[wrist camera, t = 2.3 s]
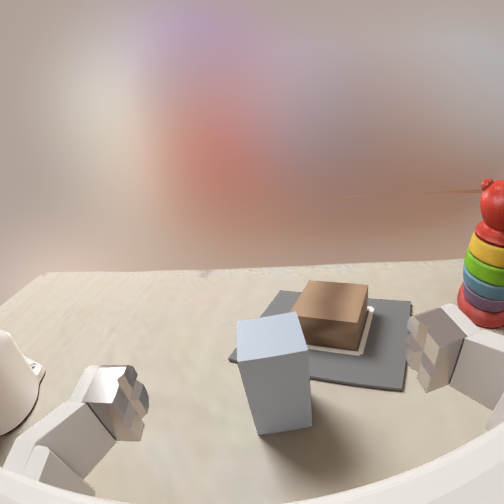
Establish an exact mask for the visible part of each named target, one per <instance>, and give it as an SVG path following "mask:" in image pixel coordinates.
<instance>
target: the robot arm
mask: <svg viewBox="0 0 504 504" xmlns="http://www.w3.org/2000/svg"><path fill="white" fill-rule="evenodd" d="M407 329H408V330H409V332H410V333H409V335H408V336H407V338H406V339H405V343H404V353H405V358H406V360H407V363H408V365H409V366H410V368H411V369H413V370H416V371H418V375H417V379H418V381H419V382H420V384H421V386H422V387H423V389H424V390H425V392H426V393H428V392H430V391H433V390H436V389H438V388H441V387H443V386H446V385H448V384H450V385H449V386H451V387H453V388H454V389H456V390H458V391H460V392H461V393H463V394H465V395H466V396H468V397H470V398H472V399H473V400H475V401H477V402H479V403H480V404H482V405H484V406H486V407H487V408H489V409H491V410H493V412H492V414H491V415H490V417H489V419H488V420H487V422H486V425H485V427H486V428H487V430H488V432H486V433H484V434H482V435H481V436H479V437H477V438H476V439H474V440H472V441H470V442H468V443H467V444H465V445H463V446H461V447H459V448H457V449H455V450H453V451H451V452H449V453H447V454H445V455H443V456H441V457H439V458H437V459H434V460H432V461H430V462H428V463H425V464H423V465H421V466H418V467H416V468H413V469H411V470H408V471H406V472H403V473H401V474H398V475H395V476H392V477H390V478H387V479H384V480H381V481H378V482H375V483H371V484H368V485H365V486H361V487H358V488H354V489H351V490H347V491H343V492H339V493H335V494H331V495H326V496H322V497H317V498H312V499H306V500H301V501H295V502H288V503H281V504H504V336H503V335H500V334H497V333H494V332H491V331H488V330H485V329H484V330H482V331H481V330H480V329H479V328H478V327H477V326H476V325H475V324H474V323H473V322H472V321H471V320H470V319H469V318H468V317H467V316H466V315H465V314H464V313H463V312H462V311H461V310H460V309H459V308H458V307H457V306H455V305H454V304H452V303H449V304H446V305H443V306H440V307H438V308H436V309H433V310H429V311H426V312H423V313H420V314H417V315H414V316H410V318H409V320H408V323H407ZM44 373H45V369H44V368H43V366H42V365H41V364H39V363H37V362H35V361H33V360H31V359H28V358H26V357H24V355H23V354H22V352H21V351H20V349H19V348H18V346H17V344H16V343H15V341H14V340H13V338H12V336H11V335H10V334H9V333H6V332H5V331H4V330H0V435H3V434H5V433H7V432H9V431H11V430H12V429H14V428H15V427H16V426H17V425H19V424H20V423H21V422H22V421H23V420H24V419H25V417H26V416H27V415H28V414H29V412H30V411H31V409H32V407H33V406H34V403H35V401H36V399H37V395H38V388H39V383H40V381H41V379H42V377H43V375H44ZM137 375H138V374H137V372H136V371H135V369H134V367H133V366H130V365H102V366H88V367H87V368H85V370H84V372H83V374H82V376H81V378H80V380H79V382H78V384H77V386H76V388H75V390H74V392H73V394H72V396H71V398H70V400H69V402H66V401H65V402H64V403H62V404H61V405H60V406H58V407H57V408H56V409H54V410H53V411H52V412H50V413H49V414H48V415H46V416H45V417H44V418H42V419H41V420H40V421H38V422H37V423H36V424H34V425H33V426H32V427H30V428H29V429H28V430H26V431H25V432H24V433H22V434H21V435H20V436H18V437H17V438H16V440H15V442H14V444H13V446H12V448H11V450H10V452H9V455H8V457H7V459H6V461H5V463H4V466H3V467H1V466H0V504H132V503H125V502H119V501H113V500H107V499H102V498H97V497H94V495H95V490H94V488H93V487H91V486H90V485H89V484H88V483H86V482H85V481H84V478H85V477H86V476H87V475H88V474H89V473H90V472H91V471H92V469H93V468H94V467H95V466H96V465H97V464H98V463H99V461H100V460H101V459H102V458H103V457H104V456H105V455H106V454H107V452H108V451H109V450H110V449H111V448H112V447H113V446H114V444H115V443H116V441H141V437H142V433H143V429H144V425H145V424H144V423H143V421H142V418H143V417H144V416H145V415H146V414H147V412H148V408H149V397H148V394H147V391H146V389H145V387H144V385H143V384H142V383H140V382H139V381H137V380H136V378H137Z"/></svg>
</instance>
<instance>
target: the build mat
mask: <svg viewBox="0 0 504 504" xmlns="http://www.w3.org/2000/svg"><path fill="white" fill-rule="evenodd" d="M301 293H302V292H292V291H283V290H280V292H279V293H278V294H277V296H276V297H275V298H274V300H273V301H272V302H271V304H270V305H269V306H268V308H267V309H266V310H265V312H264V313H263V314H262V315H261V317H267V316H273V315H279V314H285V313H289V312H290V311H291V309H292V307H293V306H294V304H295V303H296V301H297V300H298V298H299V296H300V295H301ZM410 308H411V301H397V300H383V299H370V298H368V304H367V313H366V317H365V321H364V324H363V328H362V331H361V335H360V338H359V342H358V345H357V348H356V350H350V349H342V348H335V347H327V346H320V345H313V344H307V343H306V345H307V348H308V357H309V372H310V379H316V380H322V381H328V382H334V383H340V384H347V385H354V386H361V387H368V388H377V389H385V390H395V391H402V386H403V379H404V372H405V365H406V358H405V353H404V343H405V339H406V338H407V336H408V335H409V330H408V329H407V323H408V320H409V318H410ZM261 317H260V318H261ZM228 359H229V361H233V362H237V348H236V349H235V350H234V351H233V353H232V354H231V355H230V357H229V358H228Z"/></svg>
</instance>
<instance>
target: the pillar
mask: <svg viewBox="0 0 504 504" xmlns="http://www.w3.org/2000/svg"><path fill="white" fill-rule="evenodd" d="M237 363H238V367H239V370H240V374H241V378H242V381H243V385H244V388H245V392H246V395H247V399H248V402H249V406H250V409H251V413H252V416H253V420H254V423H255V426H256V430H257V433H258V435H264V434H271V433H278V432H284V431H290V430H296V429H302V428H307V427H312V410H311V390H310V372H309V357H308V348H307V345H306V342H305V338H304V335H303V332H302V329H301V325H300V322H299V319H298V316H297V313H296V312H290V313H285V314H279V315H273V316H267V317H261V318H255V319H249V320H242V321H237Z"/></svg>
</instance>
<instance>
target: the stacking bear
mask: <svg viewBox="0 0 504 504" xmlns="http://www.w3.org/2000/svg"><path fill="white" fill-rule="evenodd" d="M481 188H482V190H483V192H482V195H481V201H480V206H481V213H482V217H483V221H481V222H480V223H479V224H478V225H477V227H476V228H475V231H474V233H473V235H472V238H471V240H470V244H469V247H468V249H467V252H466V256H465V260H464V271H463V278H464V283H463V284H462V285H461V287H460V290H459V293H458V298H457V302H458V307H459V309H460V310H461V311H462V312H463V313H464V314H465V315H466V316H467V317H468V318H469V319H470V320H471V321H472V322H473V323H474V324H476V325H479V326H482V327H488V328H495V327H500V326H503V325H504V181H502V180H499V181H493V180H491V179H489V178H486V179H484V180H483V182H482V184H481Z"/></svg>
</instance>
